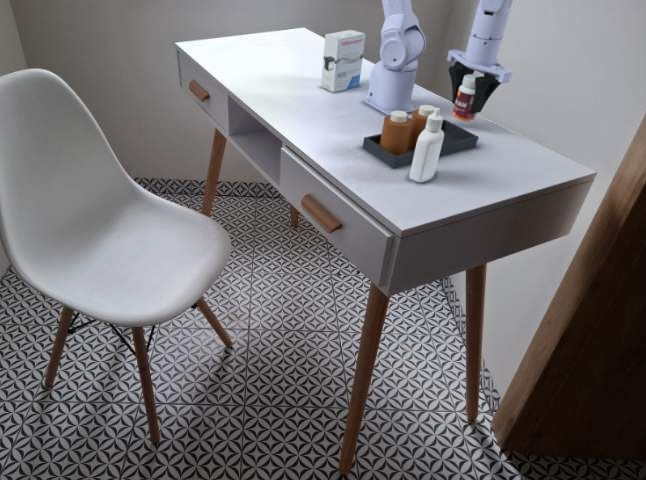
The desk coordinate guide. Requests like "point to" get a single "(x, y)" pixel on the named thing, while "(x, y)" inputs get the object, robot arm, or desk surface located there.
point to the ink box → (342, 60)
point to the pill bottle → (465, 100)
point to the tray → (452, 143)
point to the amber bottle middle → (419, 123)
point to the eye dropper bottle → (428, 149)
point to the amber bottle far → (396, 132)
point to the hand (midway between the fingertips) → (466, 107)
